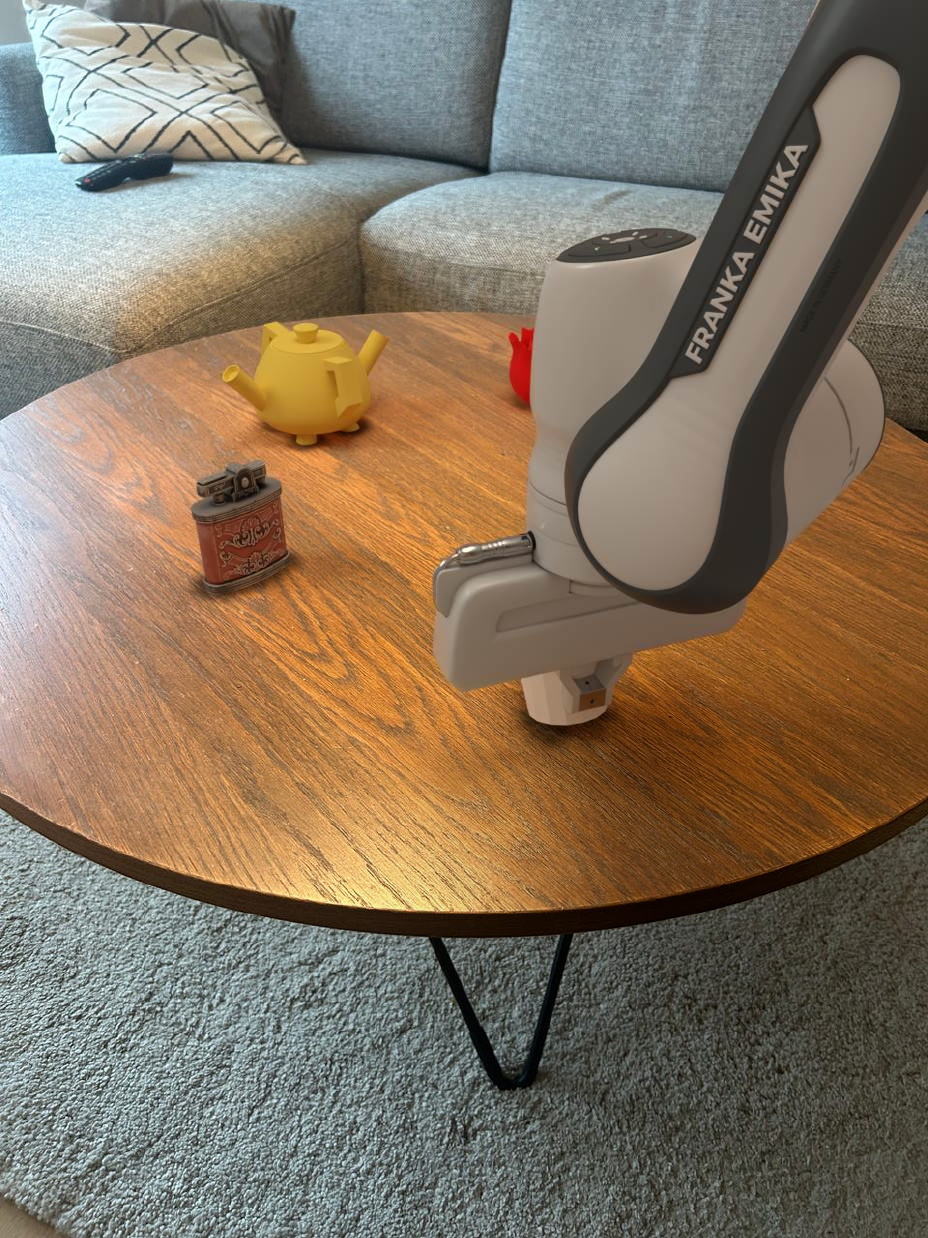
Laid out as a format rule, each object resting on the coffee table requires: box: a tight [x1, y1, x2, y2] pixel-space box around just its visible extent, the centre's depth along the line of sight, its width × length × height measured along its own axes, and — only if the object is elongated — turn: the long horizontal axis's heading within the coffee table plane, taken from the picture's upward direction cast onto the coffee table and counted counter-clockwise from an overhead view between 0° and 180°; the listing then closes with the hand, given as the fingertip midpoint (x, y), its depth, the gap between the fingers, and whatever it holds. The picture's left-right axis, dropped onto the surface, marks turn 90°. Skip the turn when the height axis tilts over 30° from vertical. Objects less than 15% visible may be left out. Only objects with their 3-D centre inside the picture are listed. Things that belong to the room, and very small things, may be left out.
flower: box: [508, 326, 535, 405], centre depth 114 cm, size 8×8×8 cm
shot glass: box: [520, 661, 609, 726], centre depth 69 cm, size 7×7×7 cm
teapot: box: [221, 320, 390, 446], centre depth 107 cm, size 20×18×11 cm
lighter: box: [190, 459, 291, 596], centre depth 83 cm, size 8×3×10 cm, turn 135°
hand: (585, 704), depth 66 cm, fingers closed, pressing on shot glass
